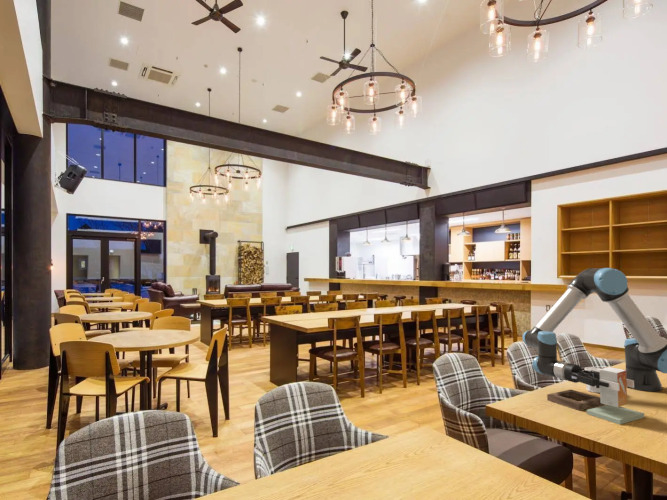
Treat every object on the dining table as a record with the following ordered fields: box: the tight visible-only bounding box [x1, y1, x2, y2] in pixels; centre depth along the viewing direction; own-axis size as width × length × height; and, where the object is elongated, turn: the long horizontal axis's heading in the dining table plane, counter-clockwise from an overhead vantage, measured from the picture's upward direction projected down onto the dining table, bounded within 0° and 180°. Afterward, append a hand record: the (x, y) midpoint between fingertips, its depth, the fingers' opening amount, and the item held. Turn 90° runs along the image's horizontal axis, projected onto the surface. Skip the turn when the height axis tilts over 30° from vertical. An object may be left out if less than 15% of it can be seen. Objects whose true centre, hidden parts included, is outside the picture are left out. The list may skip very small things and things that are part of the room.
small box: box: [599, 366, 628, 407], centre depth 153 cm, size 8×6×13 cm
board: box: [585, 404, 645, 425], centre depth 152 cm, size 16×12×2 cm
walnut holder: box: [546, 389, 605, 412], centre depth 168 cm, size 16×14×2 cm
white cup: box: [583, 366, 602, 394], centre depth 183 cm, size 8×8×10 cm
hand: (626, 385), depth 149 cm, fingers closed on small box, 9 cm apart
